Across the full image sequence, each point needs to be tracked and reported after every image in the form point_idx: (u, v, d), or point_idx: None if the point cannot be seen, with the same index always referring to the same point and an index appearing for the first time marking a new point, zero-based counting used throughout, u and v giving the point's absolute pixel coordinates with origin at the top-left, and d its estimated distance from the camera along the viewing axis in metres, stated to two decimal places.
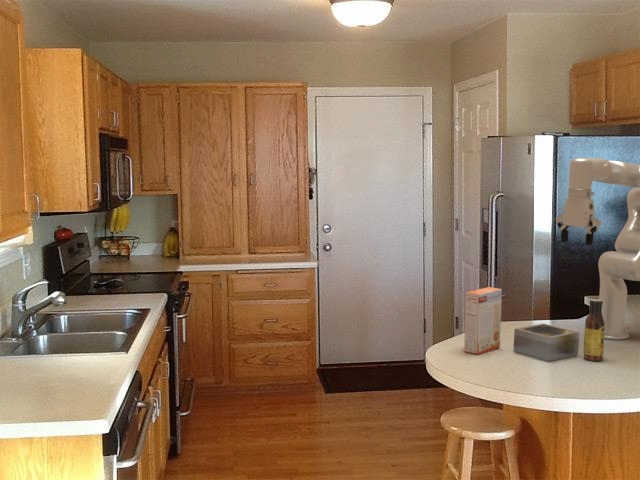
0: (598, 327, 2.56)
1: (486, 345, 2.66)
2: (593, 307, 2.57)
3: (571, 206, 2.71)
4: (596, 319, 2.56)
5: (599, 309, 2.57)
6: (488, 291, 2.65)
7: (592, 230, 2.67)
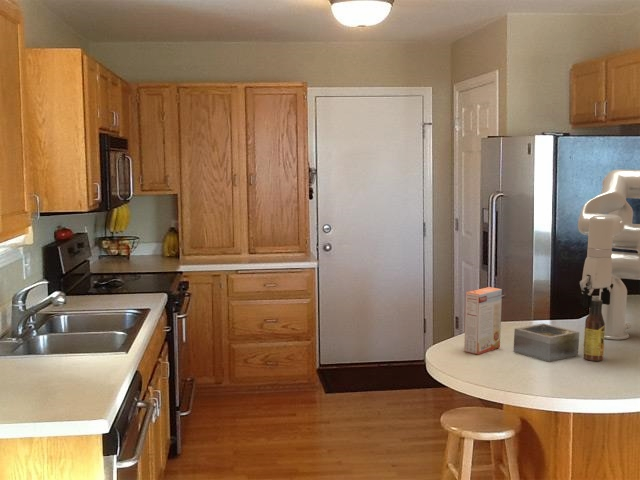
0: (598, 327, 2.56)
1: (486, 345, 2.66)
2: (593, 307, 2.57)
3: (602, 268, 2.54)
4: (596, 319, 2.56)
5: (599, 309, 2.57)
6: (488, 291, 2.65)
7: (610, 288, 2.60)
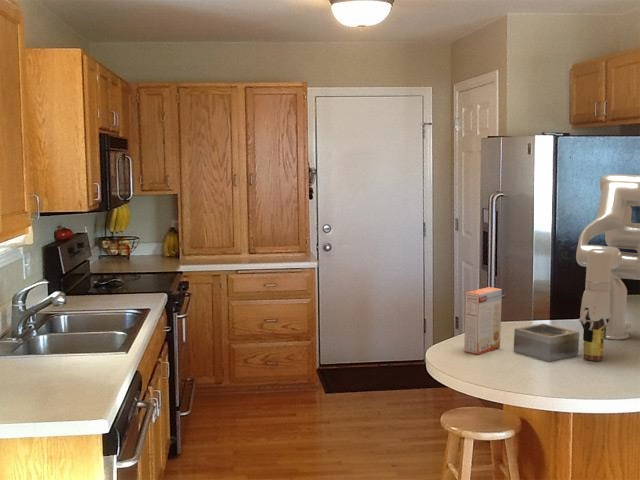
0: (598, 327, 2.56)
1: (486, 345, 2.66)
2: None
3: (600, 301, 2.55)
4: None
5: None
6: (488, 291, 2.65)
7: None
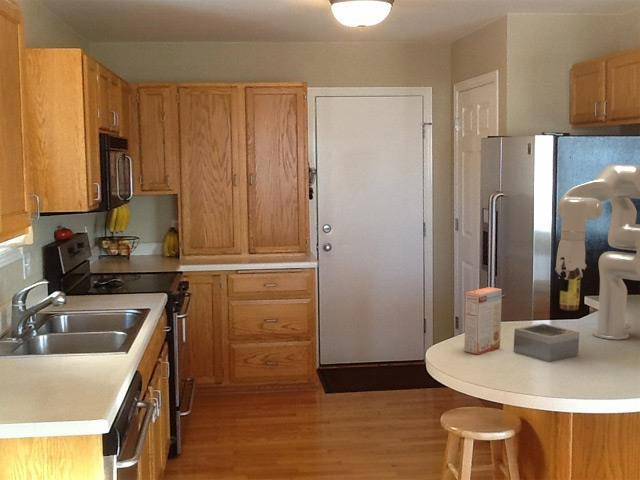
0: (574, 277, 2.57)
1: (486, 345, 2.66)
2: None
3: (576, 250, 2.56)
4: None
5: None
6: (488, 291, 2.65)
7: None
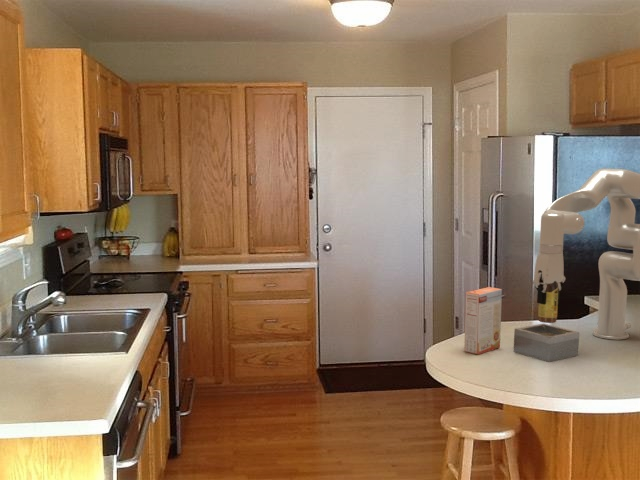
0: (551, 289, 2.61)
1: (486, 345, 2.66)
2: None
3: (553, 263, 2.60)
4: None
5: None
6: (488, 291, 2.65)
7: None
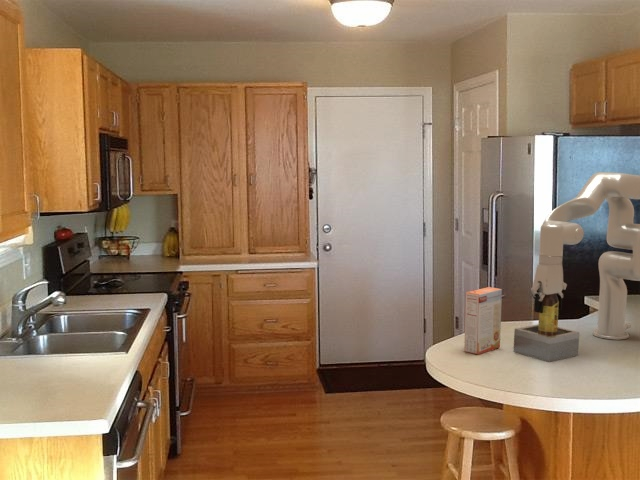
0: (552, 304, 2.61)
1: (486, 345, 2.66)
2: None
3: (553, 274, 2.60)
4: (550, 295, 2.62)
5: None
6: (488, 291, 2.65)
7: (562, 293, 2.67)
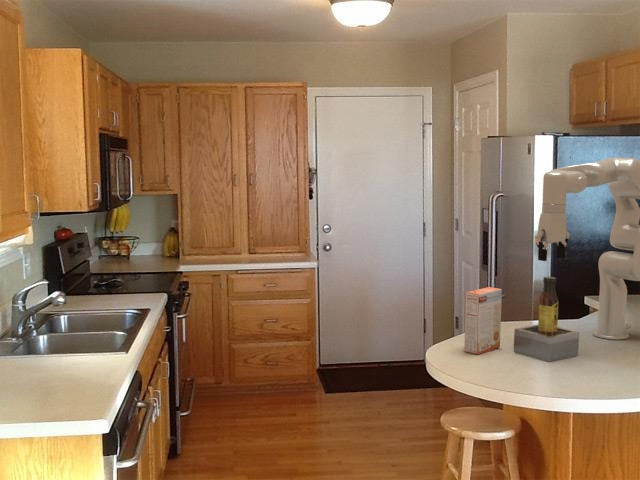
0: (551, 304, 2.62)
1: (486, 345, 2.66)
2: (547, 285, 2.63)
3: (556, 222, 2.61)
4: (550, 295, 2.62)
5: (552, 286, 2.62)
6: (488, 291, 2.65)
7: (565, 242, 2.68)
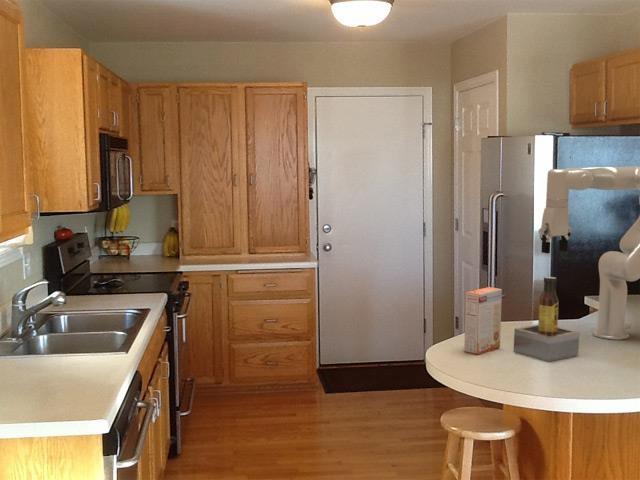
0: (551, 304, 2.62)
1: (486, 345, 2.66)
2: (547, 285, 2.63)
3: (559, 217, 2.76)
4: (550, 295, 2.62)
5: (553, 286, 2.62)
6: (488, 291, 2.65)
7: (568, 236, 2.83)
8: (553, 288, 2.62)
